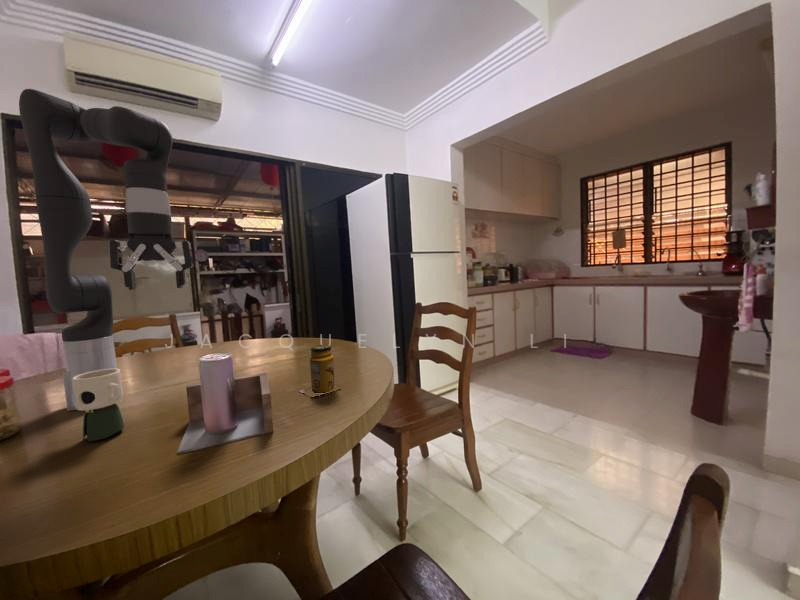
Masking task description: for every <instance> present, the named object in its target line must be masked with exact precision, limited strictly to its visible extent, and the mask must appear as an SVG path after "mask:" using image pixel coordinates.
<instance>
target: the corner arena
mask: <svg viewBox="0 0 800 600" xmlns="http://www.w3.org/2000/svg"><path fill="white" fill-rule="evenodd" d="M234 379H235V391H236V402H237V413H238V424H237V426H236V427H235V428H234V429H232V430H231V431H229V432H226V433H223V434H217V435H211V434H208V433H207V432H206V431H205V425H204V415H203V405H202V395H201V385H200V383H194V384H193V383H192V384H188V385H186V387H185V388H186V399H187V407H188V408H187V409H188V410H187V411H188V417H189V418H188V420H189V422H188V423H187V427H186V429H185V432H184V434H183V437H182V440H181V442H180V445H179V447H178V449H177V455H181V454H184V453H188V452H193V451H197V450H203V449H206V448H210V447H215V446H218V445H223V444H227V443H231V442H237V441H241V440H246V439H248V438H249V439H250V438H254V437H258V436H261V435H266V434H271V433H274V424H273V423H274V422H273V410H272V399H271V398H272V397H271V396H272V395H271V389H270V386H269V385H270V384H269V380H268V375H267V372H263V373H257V374H251V375H250V374H249V375H244V376H238V377H234Z"/></svg>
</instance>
